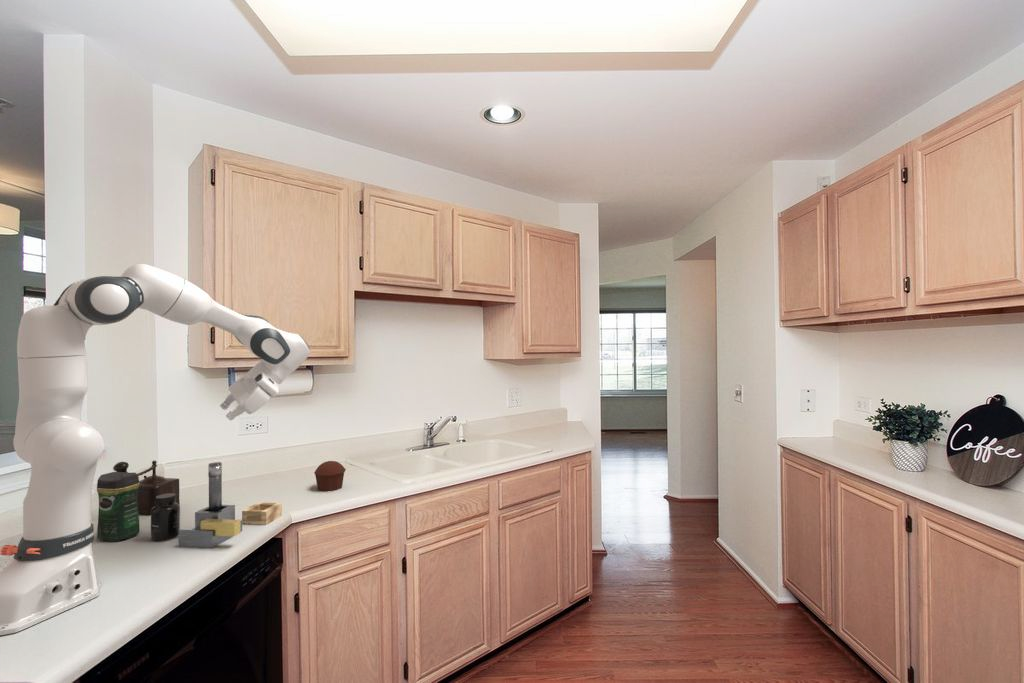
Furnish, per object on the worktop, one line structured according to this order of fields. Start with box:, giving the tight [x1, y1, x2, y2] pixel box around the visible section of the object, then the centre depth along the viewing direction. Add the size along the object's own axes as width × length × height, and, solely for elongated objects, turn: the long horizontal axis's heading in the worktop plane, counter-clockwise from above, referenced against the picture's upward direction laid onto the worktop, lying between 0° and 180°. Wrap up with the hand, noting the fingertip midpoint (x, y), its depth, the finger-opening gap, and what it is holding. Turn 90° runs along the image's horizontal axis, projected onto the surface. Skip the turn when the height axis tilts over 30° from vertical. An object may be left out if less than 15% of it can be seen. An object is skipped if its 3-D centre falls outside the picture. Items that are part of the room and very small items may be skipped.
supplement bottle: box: [150, 493, 181, 543], centre depth 140 cm, size 7×7×12 cm
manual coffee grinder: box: [112, 460, 181, 516], centre depth 161 cm, size 16×11×18 cm
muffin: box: [313, 460, 347, 492], centre depth 187 cm, size 12×11×10 cm
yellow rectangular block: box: [201, 519, 241, 537], centre depth 134 cm, size 2×10×4 cm, turn 83°
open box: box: [241, 502, 283, 526], centre depth 154 cm, size 8×8×4 cm
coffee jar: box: [96, 471, 141, 542], centre depth 141 cm, size 10×8×19 cm
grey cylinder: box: [207, 461, 223, 512], centre depth 141 cm, size 3×3×18 cm
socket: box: [178, 504, 243, 549], centre depth 139 cm, size 12×10×8 cm
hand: (225, 413), depth 142 cm, fingers open, 8 cm apart
